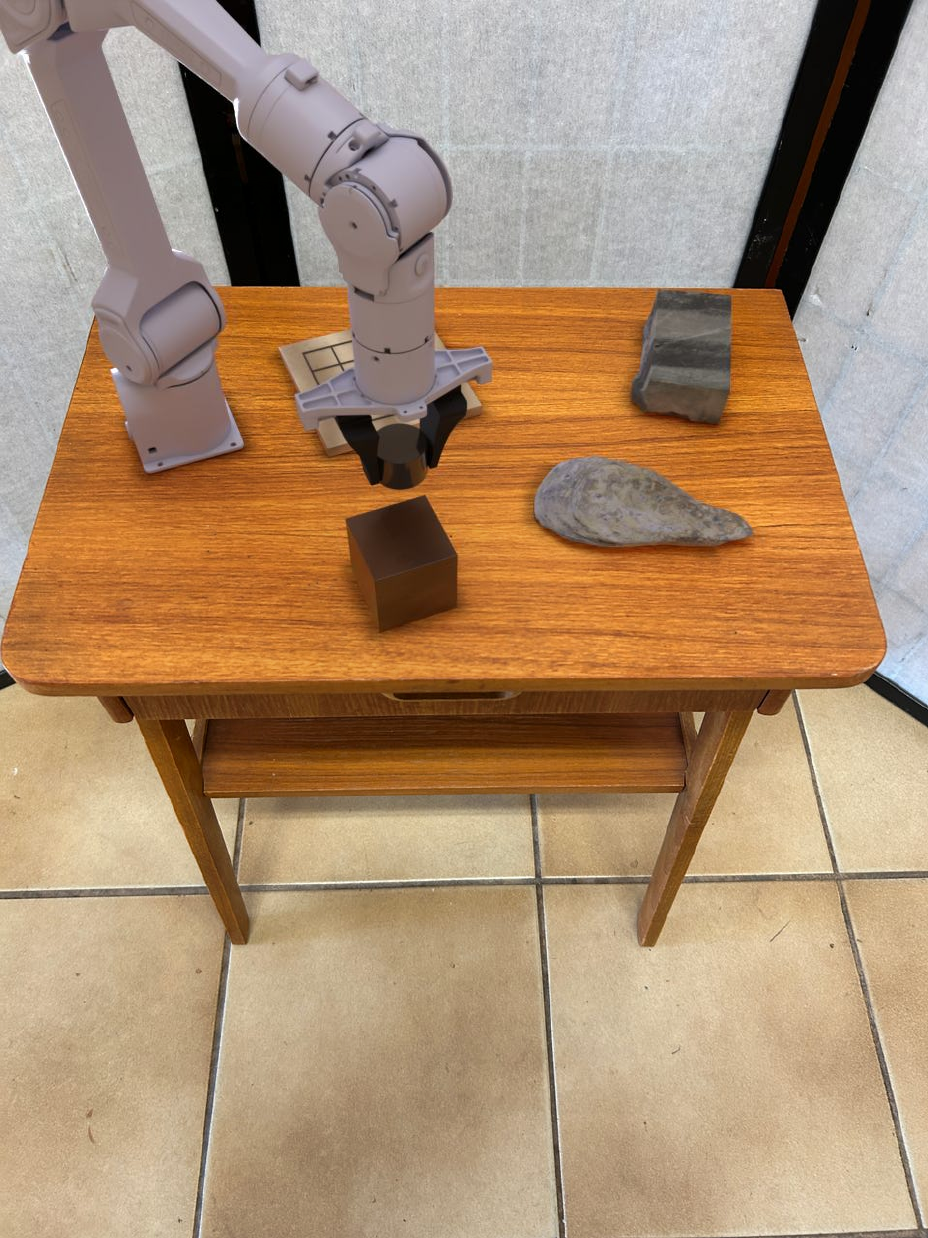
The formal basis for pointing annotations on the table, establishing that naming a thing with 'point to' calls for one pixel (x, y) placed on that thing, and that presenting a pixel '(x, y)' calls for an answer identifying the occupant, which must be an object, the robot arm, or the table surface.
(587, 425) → the table surface
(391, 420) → the grid board
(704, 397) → the stone block
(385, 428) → the black cylinder
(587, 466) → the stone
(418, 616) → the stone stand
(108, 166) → the robot arm
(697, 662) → the table surface
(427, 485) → the table surface
